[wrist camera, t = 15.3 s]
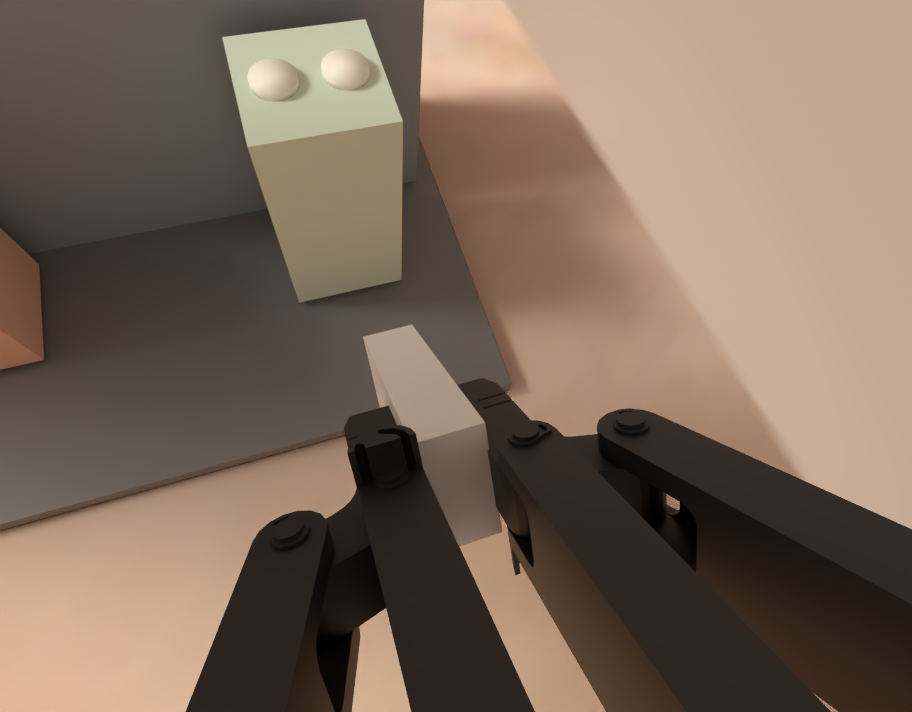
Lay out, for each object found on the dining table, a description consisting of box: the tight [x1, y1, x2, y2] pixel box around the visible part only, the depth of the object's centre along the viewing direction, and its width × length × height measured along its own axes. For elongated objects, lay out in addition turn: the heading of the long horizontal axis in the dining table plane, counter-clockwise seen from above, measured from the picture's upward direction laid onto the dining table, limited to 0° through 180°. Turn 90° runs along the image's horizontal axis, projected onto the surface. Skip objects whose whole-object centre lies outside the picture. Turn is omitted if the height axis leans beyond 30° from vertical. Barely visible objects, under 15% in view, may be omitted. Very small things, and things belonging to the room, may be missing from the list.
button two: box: [222, 19, 403, 303], centre depth 23 cm, size 5×5×10 cm
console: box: [0, 0, 511, 530], centre depth 22 cm, size 20×28×13 cm
